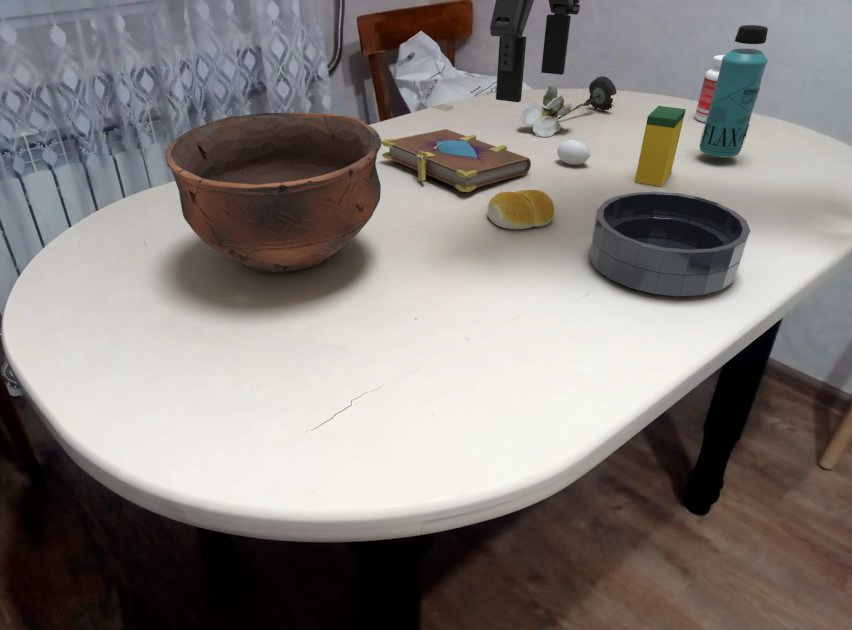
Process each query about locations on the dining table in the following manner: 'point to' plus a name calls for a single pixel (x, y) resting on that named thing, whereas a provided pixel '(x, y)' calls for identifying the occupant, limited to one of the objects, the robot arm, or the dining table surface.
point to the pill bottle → (708, 89)
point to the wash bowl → (668, 243)
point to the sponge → (659, 145)
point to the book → (456, 159)
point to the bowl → (277, 186)
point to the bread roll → (521, 209)
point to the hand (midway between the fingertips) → (531, 86)
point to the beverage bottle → (735, 95)
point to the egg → (573, 152)
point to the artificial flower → (564, 106)
